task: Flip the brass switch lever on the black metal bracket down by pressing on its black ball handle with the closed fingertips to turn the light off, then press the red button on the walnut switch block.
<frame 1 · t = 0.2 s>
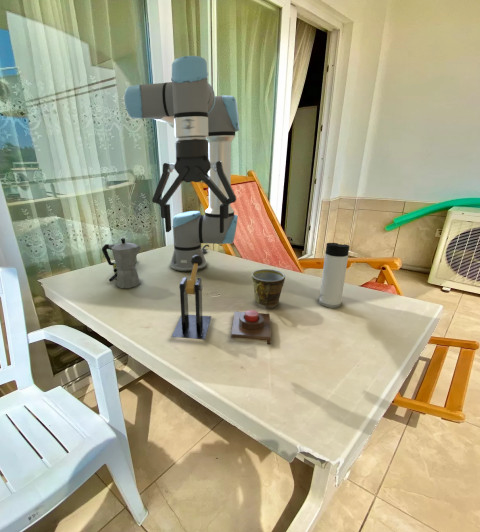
hand: (194, 231, 76), 28 cm above the table, tool pointing down, fingers open, 13 cm apart
coffeepot: (125, 284, 117), on the table
switch bracket: (192, 329, 85), on the table
button: (251, 315, 82), point 4 cm above the table, slide at 0.1 cm
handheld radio: (123, 271, 129), on the table
ceramic cup: (264, 306, 96), on the table
button block: (251, 330, 83), on the table
switch lever: (194, 273, 84), point 15 cm above the table, hinge at 25.0°
travel mug: (329, 304, 96), on the table
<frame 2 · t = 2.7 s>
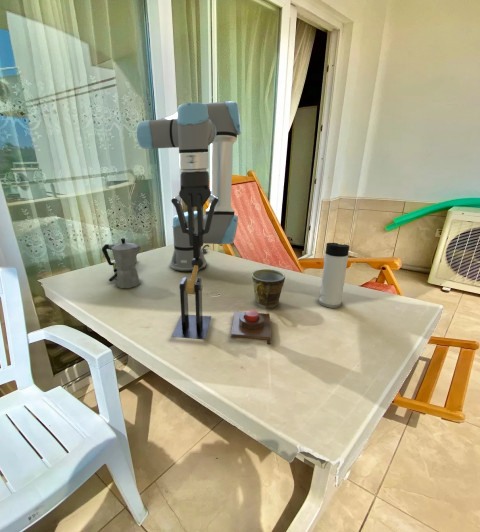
hand: (196, 256, 87), 18 cm above the table, tool pointing down, fingers closed
switch lever: (194, 274, 84), point 15 cm above the table, hinge at 19.7°, touching gripper
everything else where it was.
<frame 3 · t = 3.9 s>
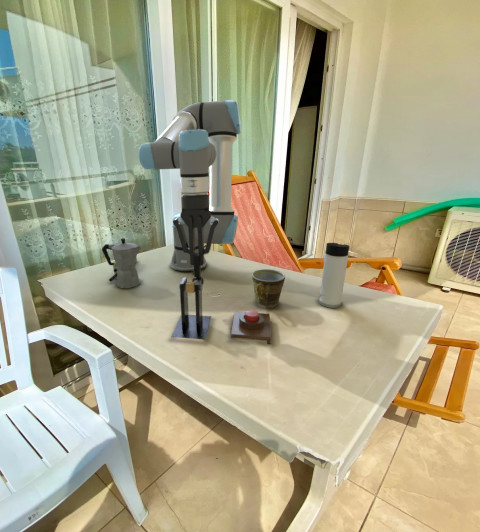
hand: (197, 275, 89), 13 cm above the table, tool pointing down, fingers closed
switch lever: (194, 283, 85), point 12 cm above the table, hinge at -14.1°, touching gripper
everything else where it was.
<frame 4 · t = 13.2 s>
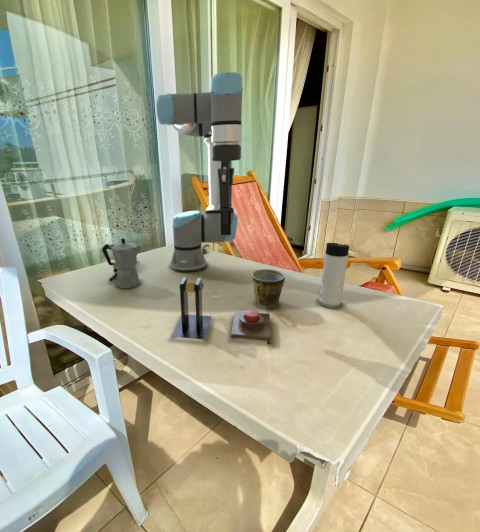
hand: (225, 234, 85), 24 cm above the table, tool pointing down, fingers closed
switch lever: (194, 286, 85), point 11 cm above the table, hinge at -22.8°
everything else where it was.
at the end: switch lever at -23° (first picture: +25°); button pushed in 1.0 cm at the most during the clip, back to where it started at the end; button slide at 0.1 cm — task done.
